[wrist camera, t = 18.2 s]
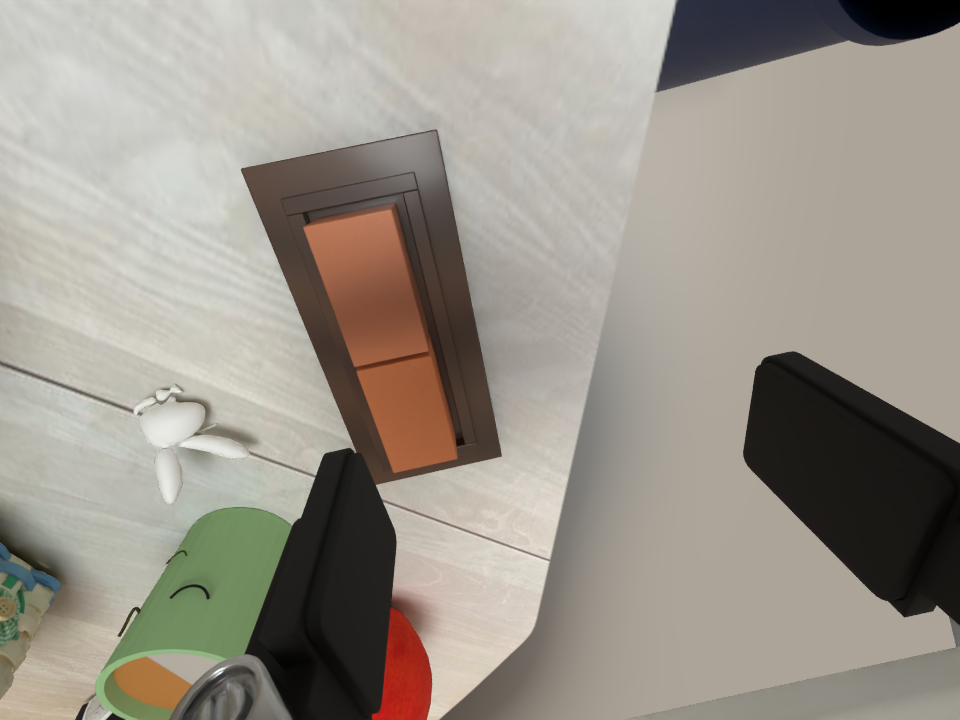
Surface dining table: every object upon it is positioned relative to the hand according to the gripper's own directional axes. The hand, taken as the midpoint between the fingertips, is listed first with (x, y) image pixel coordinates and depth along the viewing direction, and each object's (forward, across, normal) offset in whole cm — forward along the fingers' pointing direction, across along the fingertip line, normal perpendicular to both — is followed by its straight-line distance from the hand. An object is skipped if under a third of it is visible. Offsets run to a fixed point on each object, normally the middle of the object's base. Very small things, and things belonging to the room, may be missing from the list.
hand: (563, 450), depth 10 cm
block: (+21, +7, +10) cm, 24 cm away
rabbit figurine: (+22, +24, +9) cm, 34 cm away
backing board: (+22, +7, +5) cm, 24 cm away
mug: (+22, +28, +23) cm, 42 cm away
